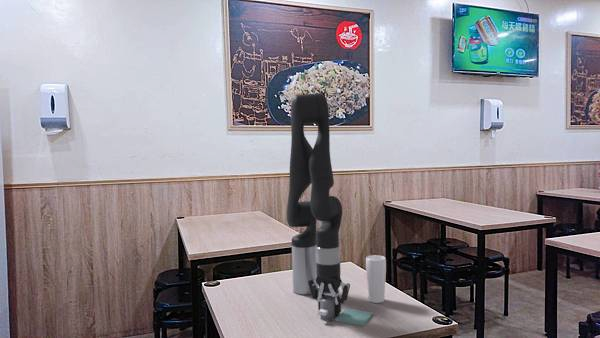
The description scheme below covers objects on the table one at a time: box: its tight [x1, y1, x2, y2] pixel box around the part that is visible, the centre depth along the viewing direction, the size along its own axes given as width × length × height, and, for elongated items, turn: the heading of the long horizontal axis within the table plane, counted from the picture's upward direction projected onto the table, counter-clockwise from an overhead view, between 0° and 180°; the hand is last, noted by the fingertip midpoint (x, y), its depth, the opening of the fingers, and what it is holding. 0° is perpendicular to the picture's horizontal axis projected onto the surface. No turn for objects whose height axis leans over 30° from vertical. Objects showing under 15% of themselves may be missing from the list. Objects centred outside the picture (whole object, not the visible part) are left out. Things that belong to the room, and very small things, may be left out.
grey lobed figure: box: [317, 293, 338, 322], centre depth 129 cm, size 9×4×6 cm, turn 152°
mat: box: [334, 307, 374, 327], centre depth 128 cm, size 9×9×1 cm
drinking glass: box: [365, 254, 387, 304], centre depth 141 cm, size 7×7×15 cm
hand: (329, 313), depth 130 cm, fingers closed on grey lobed figure, 4 cm apart
